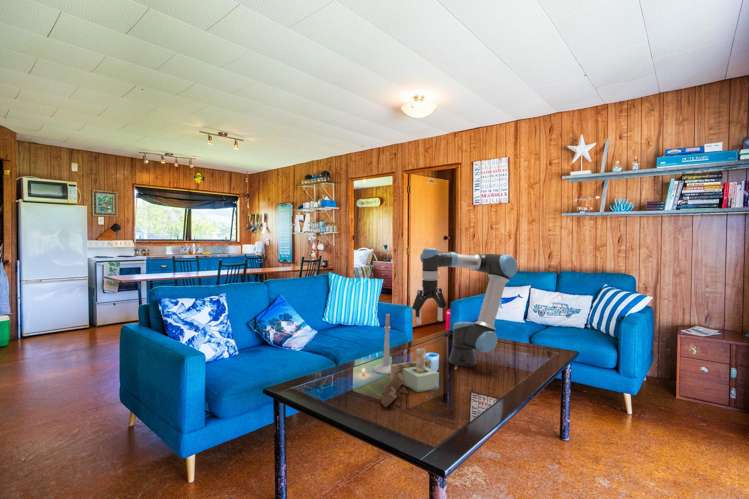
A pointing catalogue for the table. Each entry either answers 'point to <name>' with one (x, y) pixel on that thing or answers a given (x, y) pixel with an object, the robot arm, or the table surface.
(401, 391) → the wooden block set
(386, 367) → the candlestick
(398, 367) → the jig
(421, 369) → the dowel
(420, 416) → the table surface
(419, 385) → the sliding block
